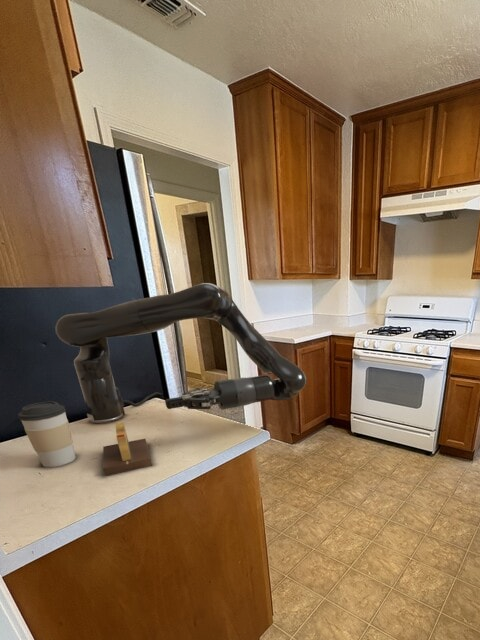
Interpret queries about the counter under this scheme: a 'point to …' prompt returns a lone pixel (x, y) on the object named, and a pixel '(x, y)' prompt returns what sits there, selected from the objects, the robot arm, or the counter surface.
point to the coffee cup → (48, 432)
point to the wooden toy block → (123, 441)
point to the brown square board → (117, 465)
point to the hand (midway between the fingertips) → (166, 404)
